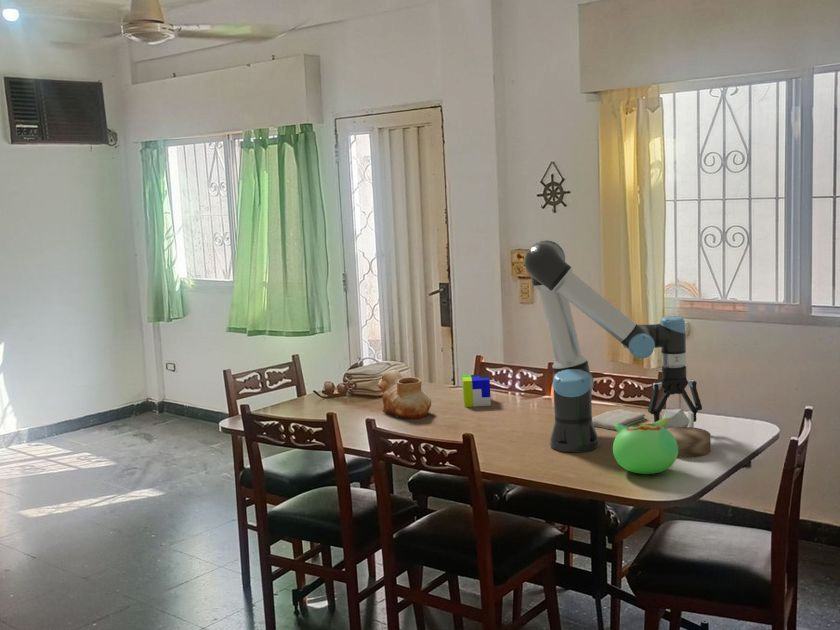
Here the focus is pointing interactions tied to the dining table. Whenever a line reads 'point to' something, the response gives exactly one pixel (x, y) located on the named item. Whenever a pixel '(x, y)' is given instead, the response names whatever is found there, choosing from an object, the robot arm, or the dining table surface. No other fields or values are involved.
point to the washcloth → (617, 418)
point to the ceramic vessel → (403, 396)
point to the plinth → (691, 441)
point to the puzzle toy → (476, 390)
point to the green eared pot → (645, 447)
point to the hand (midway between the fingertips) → (675, 432)
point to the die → (675, 418)
